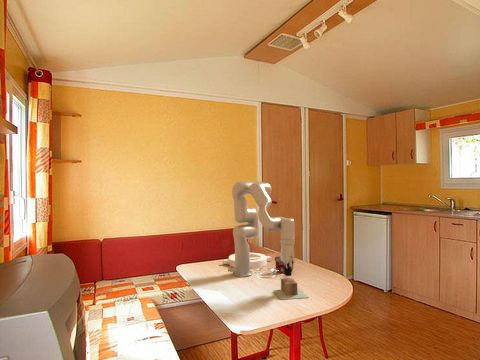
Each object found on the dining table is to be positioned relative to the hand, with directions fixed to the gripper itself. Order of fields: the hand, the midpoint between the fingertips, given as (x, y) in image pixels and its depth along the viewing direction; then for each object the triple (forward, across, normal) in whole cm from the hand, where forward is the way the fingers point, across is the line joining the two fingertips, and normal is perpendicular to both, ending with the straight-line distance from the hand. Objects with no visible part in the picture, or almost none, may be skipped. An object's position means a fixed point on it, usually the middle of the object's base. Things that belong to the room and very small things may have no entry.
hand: (288, 275), depth 159 cm
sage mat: (+9, +4, 0) cm, 9 cm away
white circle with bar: (+9, -61, -11) cm, 62 cm away
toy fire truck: (+9, -35, +8) cm, 37 cm away
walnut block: (+5, -4, 0) cm, 7 cm away
